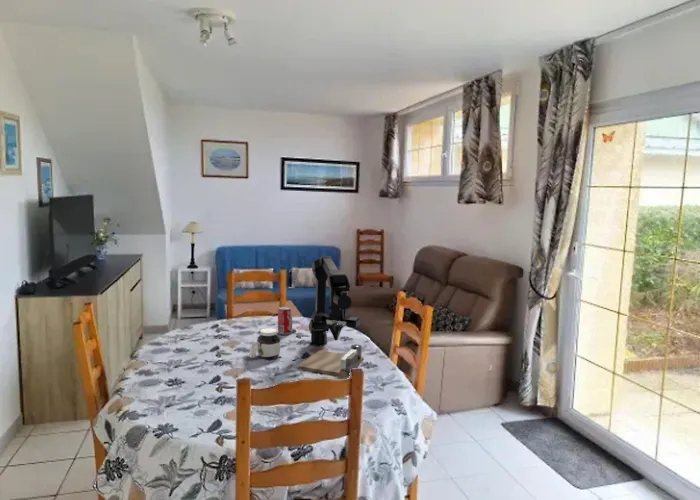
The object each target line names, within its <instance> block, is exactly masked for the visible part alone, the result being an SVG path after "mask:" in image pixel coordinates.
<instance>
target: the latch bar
mask: <svg viewBox="0 0 700 500" xmlns="http://www.w3.org/2000/svg"><path fill="white" fill-rule="evenodd" d="M350 347H351V349H350V350H349V351H348V352H347V353H345V354H346V355H345V356H344V357H342V358H341V360H340V369H344V370H346V358H347V357H348V356H349V355H350V354H352V353H353V352H355V353H358V359H359V358H361V356H362V345H361V344H358V343H355V344H351V346H350Z"/></svg>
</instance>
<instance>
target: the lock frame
mask: <svg viewBox="0 0 700 500" xmlns="http://www.w3.org/2000/svg"><path fill="white" fill-rule="evenodd" d="M346 354H347V353H342V352H341V353H340V352H334V351H327V350H321V349H319V350H317V351H316V352H314V353H313V354H312V355H311V356H309V357H308V358H306V359H305V360H304V361H302V362H300V364H298V365H297V370H302V371H308V372H316V373H322V374H327V375H332V376H339V377H344V378H346V377H347V376H349V373H350V369H352V368H357V369H358V366H359V364H361V363H362V361H364V356H362V355H361V358H359V359H358V353H355V352H353V353H352V354H350V355H349V356H348V357H347V358H346V370H344V369H340V360H341V358H342V357H344V356H345V355H346ZM349 377H350V376H349Z"/></svg>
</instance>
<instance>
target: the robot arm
mask: <svg viewBox="0 0 700 500" xmlns="http://www.w3.org/2000/svg"><path fill="white" fill-rule="evenodd" d="M311 271H312V275H313V277H314V279H315V309H314V311H313V312H312V314H311V319H310V320H309V323H308V331H309V332H310V338H311V339H310V341H311V342H309V345H311V346H320V347H323V346H324V345H326V344H327V343H328V334H327V332H329V331H330V332H331V334H332V337H333V339H334V341H338V340H339V337H340V336H341V335H340V334H341V331H343V328H344V327H346V326H347V328H354V329H355V328H357V327H358V326H360V325H361V318H359V317H357V316H350V317H349V313H350V309H349V308H350V307H351V306H352V299H351V297H350V296H349V295H348V292H351V291H350V288H351V284H350V282H349V278H348V275H347V274H346V273H345V272H344V271H343V270H340V269H338V267H337V265H336V264H335V262H334V261H333V257H332V256H329V255H328V256H320V257H319V258H318V259H316V260H315V261H313V262H312V263H311ZM327 285H328V286H327ZM327 287H328V290H329V292H330V293H329V294H330V295H329V306H328V310H329V315H328V314H327V312H326V298H327V297H326V296H327V295H326V294H327ZM346 317H347V318H346ZM348 317H349V318H348Z"/></svg>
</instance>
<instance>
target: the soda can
mask: <svg viewBox="0 0 700 500" xmlns="http://www.w3.org/2000/svg"><path fill="white" fill-rule="evenodd" d="M277 333H278V334H279V335H281V334H282V335H283V336H287V334H288V335H291V334H292V333H293V310H292V307H291V306H287V305H286V306H285V305H284V306H279V307H278V310H277Z"/></svg>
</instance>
